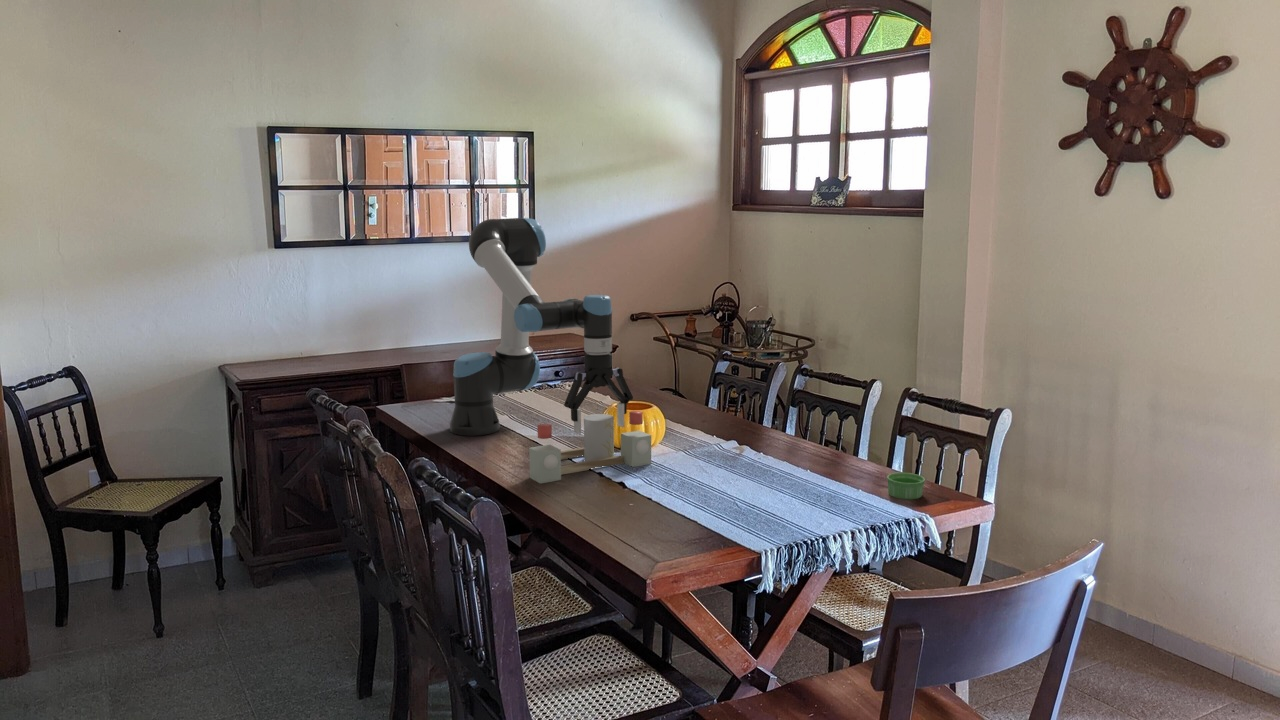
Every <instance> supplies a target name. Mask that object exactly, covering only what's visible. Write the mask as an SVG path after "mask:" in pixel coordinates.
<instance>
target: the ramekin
mask: <svg viewBox="0 0 1280 720" xmlns="http://www.w3.org/2000/svg"><path fill="white" fill-rule="evenodd" d="M886 479H887V489H888V490H887V491H888V495H889V496H891V497H893V498H896V499H900V500H918V499H920V498H922V496H923V494H924V493H923V491H924V486H925V485H924V484H925V482H926V479H925V477H924V476H922V475H921V474H920V475H919V474H916V473H912V472H893V473H890V474H888V475H887V476H886Z"/></svg>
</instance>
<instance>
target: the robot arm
mask: <svg viewBox="0 0 1280 720" xmlns="http://www.w3.org/2000/svg"><path fill="white" fill-rule="evenodd" d="M546 241H547V239H546V235H545V232H544V229H543V227H542V225H541V224H540V223H539V221H537V220H536V219H534V218H529V217H528V218H526V217H513V218H512V217H511V218H489V219H486V220H483V221H481V222H479V223H478V224H477V225H476V226H475V227H474V229H472V231H471V233H470V235H469V239H468V250H469V252H470V253H469V254H470V256H471V258H472V259H473V260H474V262H475V264H476V265H477V266H478V267H480V268H484V270H485V271H486V272H487V274H488V275H489V277H490V278H491V279H492V280H493V282H494V283H495V284H496V286H497V287H498V289H499V290H500V291H501V293H502V294H501V295H502V296H501V320H500V322H501V325H500V326H501V327H500V329H501V330H500V343H499V344H498V345H497V346H496V347H495V355H494V356H493V354H492V353H490V352H488V351H487V352H486V351H481V352H479V351H478V352H471V353H466V354H463V355H460V356H459V357H457V358H456V359H455V360H454V363H453V371H452V375H453V376H452V377H453V389H454V391H453V392H454V407H453V412H452V414H451V419H450V420H449V421H450V422H449V432H451V434H454V435H458V436H467V437H468V436H470V437H471V436H473V437H474V436H484V435H489V434H493V433H496V432H498V431H500V429H501V427H500V420H499V417H498V413H497V412H496V408H495V406H494V395H496V394H505V393H511V392H512V393H514V392H522V391H526V390H530V389H532V388H534V387H535V385H536V383H537V382H538V380H539V378H540V372H541V364H540V363H539V362H540V359H539V357H538V356H537V355H536V353H535V352H534V349H533V348H532V346H530V344H529V340H530V333H538V332H545V331H551V330H552V331H553V330H563V329H572V328H573V329H575V328H579V329H583V350H584V352H585V354H584V356H583V357H584V359H583V360H584V372H578V371H575V372H574V375H573V376H574V377H573V382H572V384H571V386H570V389H569V390H568V394H567V396H566V399H565V401H564V404H563V407H565V408H567V409H570V419H571V421H572V422H573V432H574V433H576V434H579V435H580V434H582V409H580V408H579V407H580V406H581V405H582V404H583V402H584V400H585V399H586V397H587V396H589V395H588V394H589V393H590V391H592V390H593V389H594V388H600V387H603V388H604V387H607V388H608V389H609V390H610V391H611V392H612V393H613V395H614V396H615V398H617V400H618V401H617V402H616V420H617V421H616V423H617V424H616V425H617V426H618V427H621V428H624V427H626V424H625V415H627V413H628V409H627V407H628V405H627V404H629V403H630V401H632V400H633V399H634V396H633V394H632V392H631V390H630V388H629V385H628V383H627V381H626V379H625V378H624V373H623V369H622V368H620V367H617V366H615V367H614V368H613V367H612V366H613V354H612V353H611V352H612V351H613V337H612V336H613V335H612V334H613V325H612V324H613V317H612V315H613V308H612V298H611V297H610V296H609V295H605V294H603V295H602V294H590V295H589V294H588V295H585V296H584V297H583V300H582V299H579V298H567V299H564V300H561V301H549V302H545V301H543V298H541V297H540V295H539V294H538V293H537V291H536V290H535V289H534V288H533V286H532V275H533V274H532V273H533V272H532V270H533V268H535V267H536V266H537V265H538V258H540V257H541V256H543V255H544V253H545V251H546V247H547V242H546ZM613 376H614V377H615V380H616V382H617V384H618V386H619V388H620V389H619V388H618V386H616V384H615V382H614V381H613V380H612V379H611V378H612V377H613ZM584 380H585V382H584V383H583V381H584ZM581 386H582V388H581Z"/></svg>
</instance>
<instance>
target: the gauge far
mask: <svg viewBox="0 0 1280 720" xmlns="http://www.w3.org/2000/svg"><path fill="white" fill-rule="evenodd" d="M628 412H629V413H628V415H629V416H628V417H629V419H628V420H629V424H630V425H633V426H638V425H642V424H643V419H644V416H643V413H644V412H643V411H640V410H632V411H628Z"/></svg>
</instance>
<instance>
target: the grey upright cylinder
mask: <svg viewBox="0 0 1280 720" xmlns="http://www.w3.org/2000/svg"><path fill="white" fill-rule="evenodd" d="M614 422H615V421H614V416H613V415H611V414H606V413H591V414H587V415H585V416H584V417H583V448H584V456H583V459H584V460H585V461H591V460H597V459H603V458H608V457H614V456H615V449H614V447H615V443H614V442H615V438H614V437H615V435H614V434H615V433H614V431H615V429H614V427H615V423H614ZM584 460H583V461H584ZM585 461H584V462H585Z"/></svg>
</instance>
